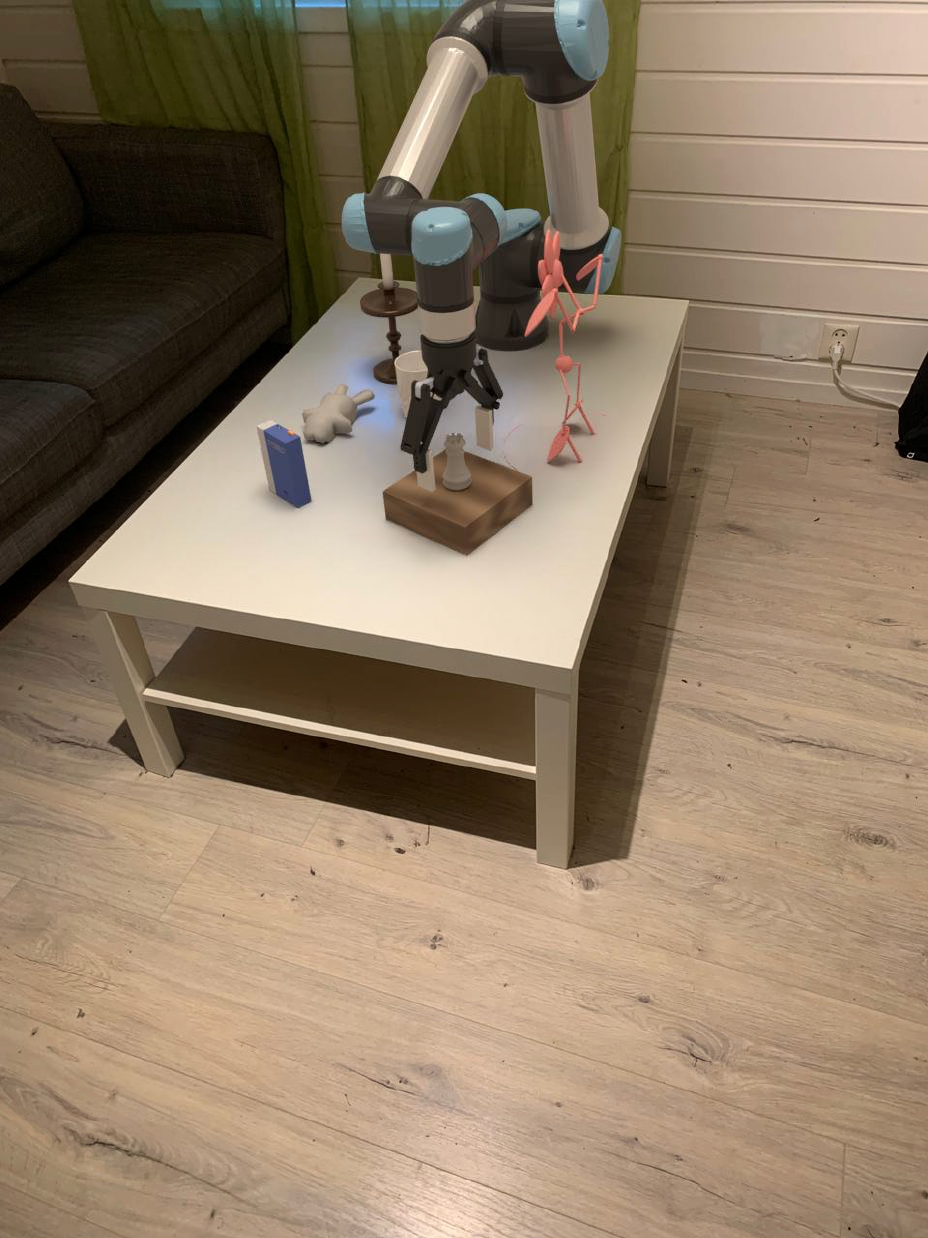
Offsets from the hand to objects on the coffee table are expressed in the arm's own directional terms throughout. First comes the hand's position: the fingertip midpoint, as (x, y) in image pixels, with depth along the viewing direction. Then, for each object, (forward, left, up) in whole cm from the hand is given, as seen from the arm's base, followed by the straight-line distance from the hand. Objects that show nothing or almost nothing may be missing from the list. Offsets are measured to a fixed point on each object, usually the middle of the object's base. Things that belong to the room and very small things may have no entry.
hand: (456, 467), depth 149 cm
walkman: (+12, -25, -8) cm, 29 cm away
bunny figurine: (-8, -35, -8) cm, 37 cm away
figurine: (-24, -1, -8) cm, 25 cm away
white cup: (-20, -25, -8) cm, 33 cm away
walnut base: (0, 0, -8) cm, 8 cm away
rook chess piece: (0, 0, -3) cm, 3 cm away
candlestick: (-29, -39, -8) cm, 49 cm away
